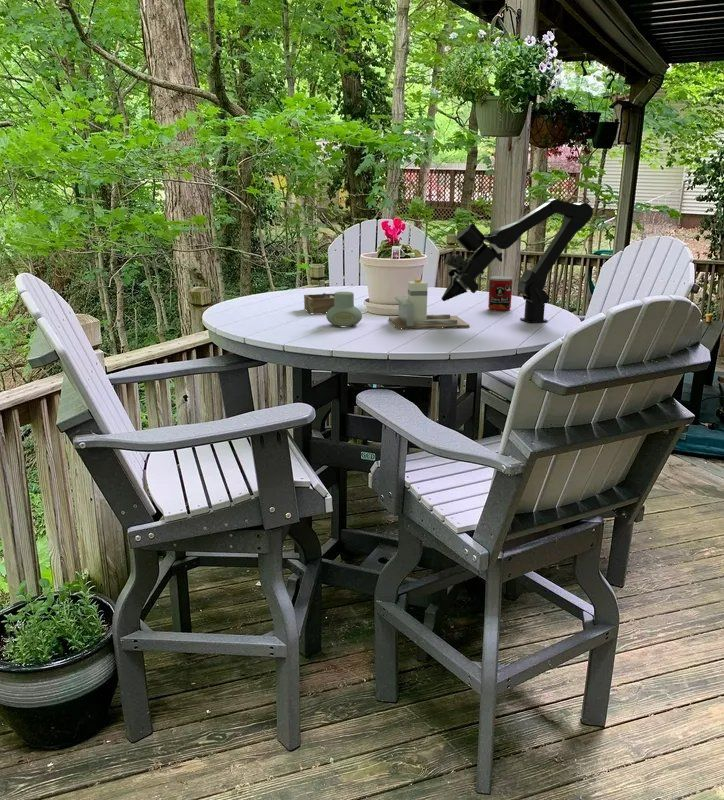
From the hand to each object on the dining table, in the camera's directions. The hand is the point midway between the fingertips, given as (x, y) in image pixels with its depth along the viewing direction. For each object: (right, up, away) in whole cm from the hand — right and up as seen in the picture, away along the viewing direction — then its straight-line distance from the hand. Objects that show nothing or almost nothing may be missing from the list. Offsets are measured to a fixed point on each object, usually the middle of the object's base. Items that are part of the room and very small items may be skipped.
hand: (442, 300), depth 212 cm
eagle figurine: (-37, -1, +24) cm, 44 cm away
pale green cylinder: (-8, -6, +1) cm, 10 cm away
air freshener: (-30, -8, -1) cm, 31 cm away
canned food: (+23, 0, +27) cm, 35 cm away
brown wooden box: (-37, 0, +24) cm, 44 cm away
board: (-4, -7, +2) cm, 8 cm away
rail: (-12, -7, +1) cm, 14 cm away
